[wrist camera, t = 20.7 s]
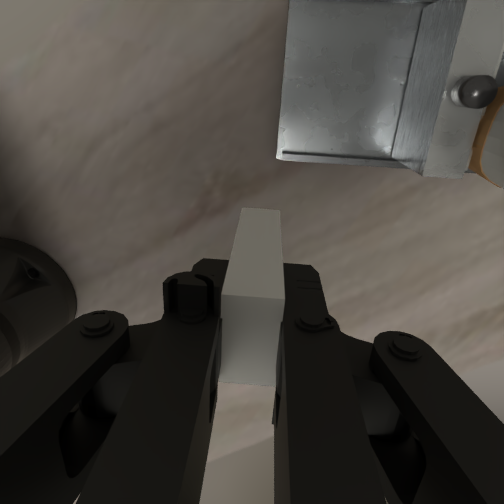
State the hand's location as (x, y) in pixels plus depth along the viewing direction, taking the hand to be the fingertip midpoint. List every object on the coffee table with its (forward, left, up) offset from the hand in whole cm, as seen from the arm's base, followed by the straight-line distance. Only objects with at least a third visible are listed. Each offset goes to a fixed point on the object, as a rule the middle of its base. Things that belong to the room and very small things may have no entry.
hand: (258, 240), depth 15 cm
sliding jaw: (+14, +6, -23) cm, 27 cm away
